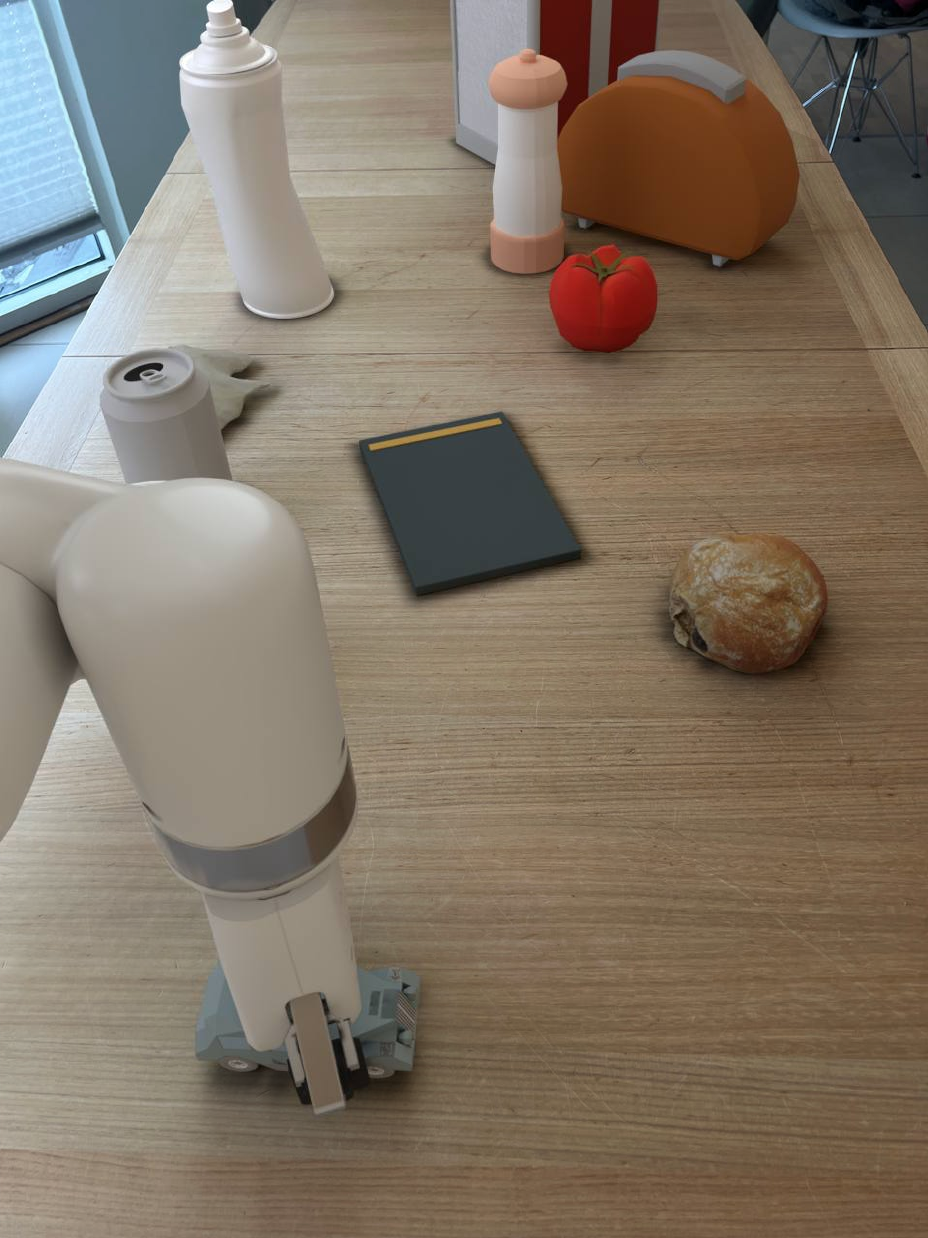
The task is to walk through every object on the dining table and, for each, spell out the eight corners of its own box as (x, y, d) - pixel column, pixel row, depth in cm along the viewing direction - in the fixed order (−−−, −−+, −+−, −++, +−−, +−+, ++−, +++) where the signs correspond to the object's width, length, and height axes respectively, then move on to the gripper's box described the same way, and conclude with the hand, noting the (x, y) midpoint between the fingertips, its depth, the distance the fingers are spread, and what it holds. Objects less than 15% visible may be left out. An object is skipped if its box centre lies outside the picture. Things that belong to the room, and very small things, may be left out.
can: (205, 464, 84) (169, 328, 76) (256, 508, 80) (224, 369, 72) (120, 505, 81) (72, 368, 73) (168, 553, 77) (124, 414, 69)
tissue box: (452, 140, 129) (439, -128, 110) (568, 106, 135) (576, -154, 116) (532, 186, 119) (534, -101, 100) (654, 146, 125) (678, -131, 106)
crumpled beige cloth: (136, 353, 95) (96, 459, 84) (131, 319, 92) (90, 424, 82) (277, 366, 96) (255, 472, 85) (276, 332, 93) (253, 437, 83)
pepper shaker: (574, 246, 108) (581, 40, 95) (547, 279, 104) (551, 67, 90) (508, 235, 111) (506, 32, 97) (479, 266, 106) (472, 58, 92)
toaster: (791, 242, 107) (824, 63, 95) (750, 279, 102) (780, 95, 90) (591, 190, 117) (599, 23, 106) (546, 221, 112) (548, 49, 101)
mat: (416, 596, 73) (415, 586, 72) (359, 448, 85) (358, 438, 85) (581, 558, 75) (581, 548, 74) (502, 418, 87) (502, 409, 87)
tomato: (668, 329, 96) (677, 250, 91) (621, 376, 91) (627, 295, 86) (578, 303, 100) (581, 226, 95) (528, 346, 95) (528, 267, 90)
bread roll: (649, 639, 74) (621, 586, 67) (745, 532, 75) (727, 469, 68) (763, 721, 69) (745, 672, 62) (866, 605, 69) (859, 544, 63)
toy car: (414, 1082, 50) (406, 1037, 46) (204, 1072, 51) (180, 1027, 47) (426, 954, 54) (419, 904, 51) (233, 946, 55) (214, 897, 52)
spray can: (204, 317, 101) (136, 27, 83) (234, 264, 108) (177, -13, 91) (324, 320, 100) (281, 26, 82) (346, 265, 107) (310, -15, 90)
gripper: (133, 649, 45) (219, 874, 57) (171, 1043, 33) (269, 1219, 45) (309, 608, 46) (356, 837, 58) (409, 973, 34) (440, 1163, 46)
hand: (318, 1003), depth 52 cm, fingers closed on toy car, 7 cm apart
